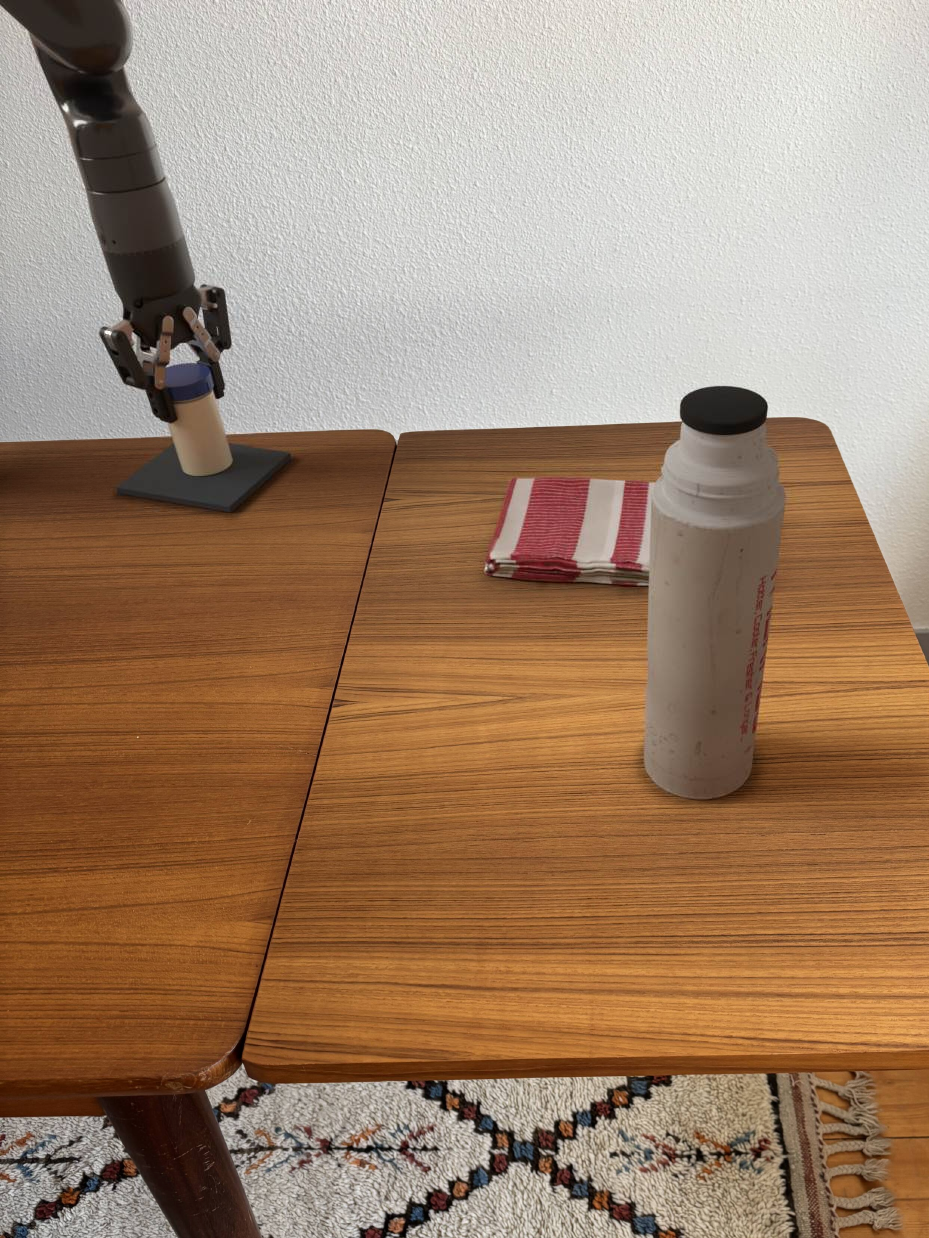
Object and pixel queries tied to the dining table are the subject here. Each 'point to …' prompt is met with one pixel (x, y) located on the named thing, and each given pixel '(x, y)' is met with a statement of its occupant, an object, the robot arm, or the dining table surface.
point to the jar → (200, 436)
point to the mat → (205, 479)
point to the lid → (188, 381)
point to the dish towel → (573, 531)
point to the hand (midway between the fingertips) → (192, 407)
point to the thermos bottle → (711, 593)
